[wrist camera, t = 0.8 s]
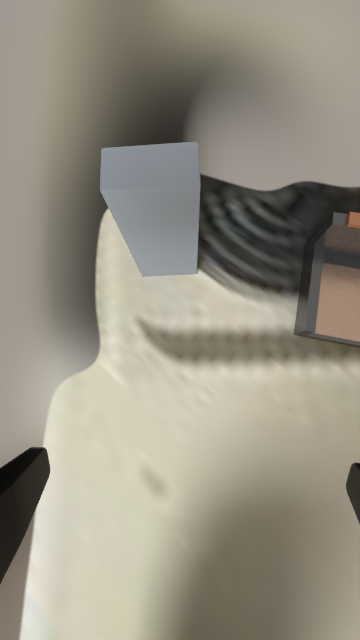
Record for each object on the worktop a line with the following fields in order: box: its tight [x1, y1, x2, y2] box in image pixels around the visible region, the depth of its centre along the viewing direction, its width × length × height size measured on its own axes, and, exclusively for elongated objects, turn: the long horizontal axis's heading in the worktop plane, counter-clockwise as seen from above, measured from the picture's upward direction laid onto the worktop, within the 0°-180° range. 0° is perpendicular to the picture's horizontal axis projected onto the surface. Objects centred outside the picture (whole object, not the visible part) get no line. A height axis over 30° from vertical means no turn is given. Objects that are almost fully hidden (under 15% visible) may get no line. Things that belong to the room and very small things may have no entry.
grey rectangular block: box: [100, 142, 200, 276], centre depth 19 cm, size 3×5×12 cm, turn 92°
